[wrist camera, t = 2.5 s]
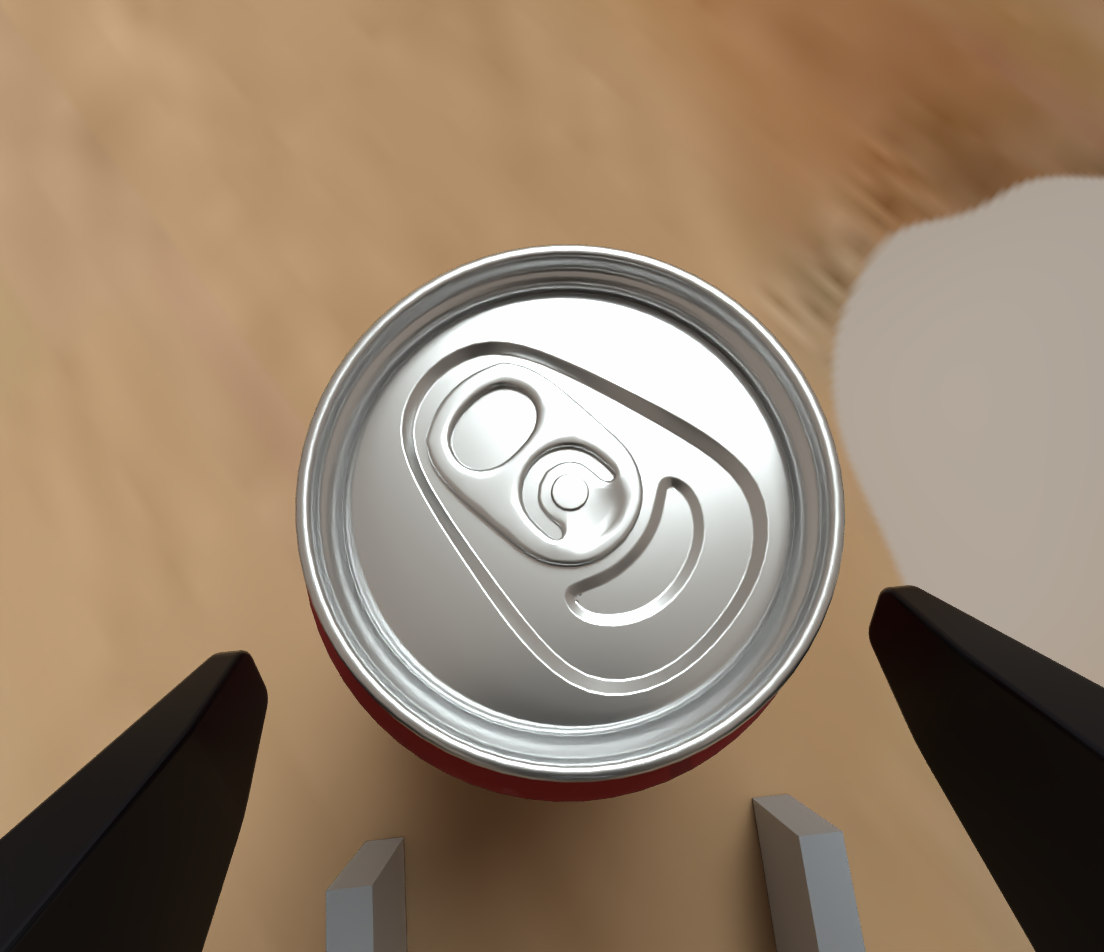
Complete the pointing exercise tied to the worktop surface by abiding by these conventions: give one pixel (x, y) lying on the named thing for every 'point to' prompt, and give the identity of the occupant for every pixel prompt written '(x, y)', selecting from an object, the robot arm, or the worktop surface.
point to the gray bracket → (788, 859)
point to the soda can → (568, 521)
